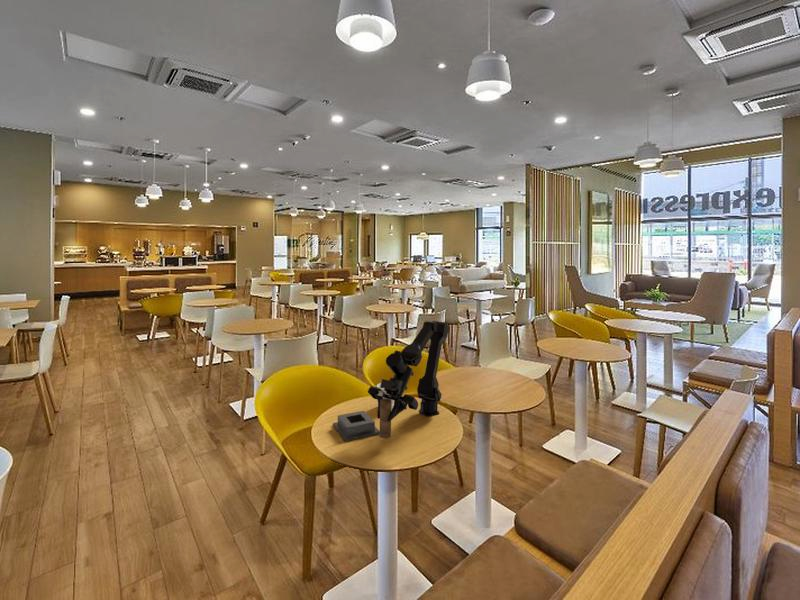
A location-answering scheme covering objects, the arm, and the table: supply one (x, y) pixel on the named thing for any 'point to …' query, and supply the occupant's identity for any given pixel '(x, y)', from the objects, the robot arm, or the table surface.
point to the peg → (385, 418)
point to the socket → (355, 426)
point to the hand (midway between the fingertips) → (383, 419)
